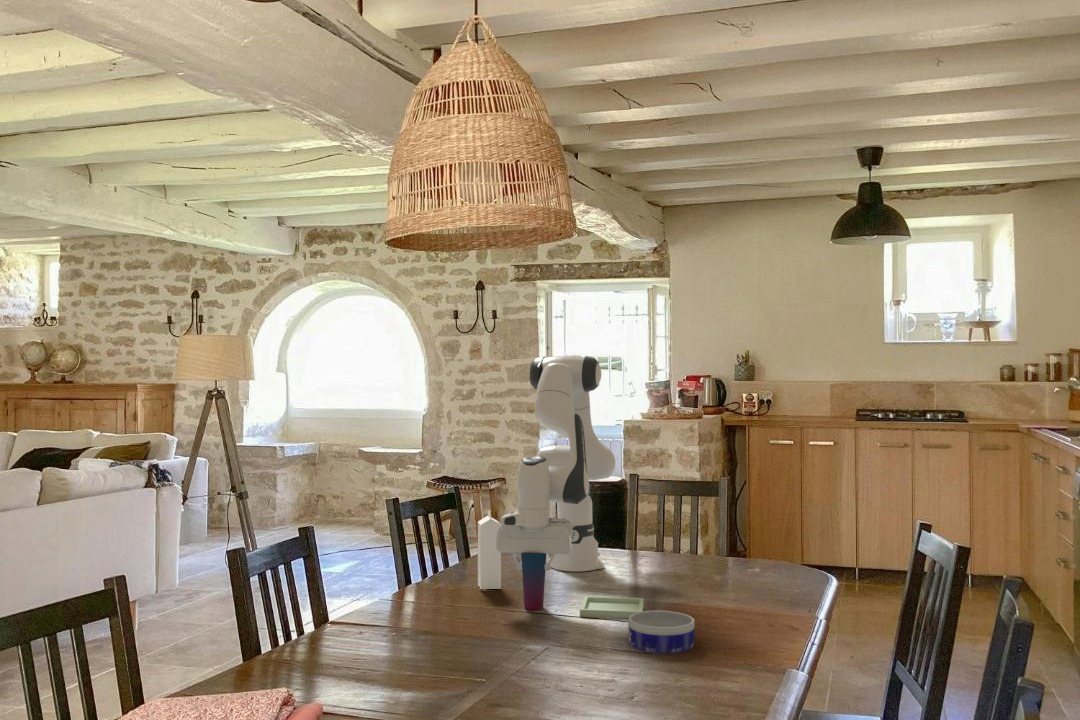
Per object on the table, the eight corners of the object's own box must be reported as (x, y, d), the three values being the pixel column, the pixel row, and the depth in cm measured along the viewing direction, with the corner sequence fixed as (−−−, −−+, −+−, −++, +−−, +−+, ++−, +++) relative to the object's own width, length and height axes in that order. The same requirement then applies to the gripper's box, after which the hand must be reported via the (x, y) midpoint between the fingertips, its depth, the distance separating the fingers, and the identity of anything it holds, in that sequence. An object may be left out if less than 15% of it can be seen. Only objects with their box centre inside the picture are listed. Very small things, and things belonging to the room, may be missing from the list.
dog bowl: (617, 638, 219) (617, 613, 219) (674, 632, 225) (674, 607, 225) (647, 657, 205) (646, 630, 205) (707, 650, 210) (707, 623, 210)
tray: (584, 602, 251) (584, 596, 251) (643, 604, 249) (643, 598, 249) (579, 616, 237) (579, 609, 237) (642, 619, 235) (642, 611, 235)
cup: (543, 611, 242) (543, 554, 242) (518, 610, 244) (518, 553, 244) (548, 605, 249) (548, 549, 249) (524, 603, 250) (524, 548, 250)
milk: (480, 590, 265) (480, 514, 265) (477, 585, 271) (477, 510, 271) (501, 589, 266) (500, 513, 266) (498, 584, 272) (497, 510, 272)
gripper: (573, 516, 248) (573, 568, 248) (498, 514, 251) (498, 565, 251) (571, 520, 242) (571, 573, 242) (494, 518, 245) (494, 571, 245)
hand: (533, 569), depth 246 cm, fingers closed on cup, 6 cm apart
